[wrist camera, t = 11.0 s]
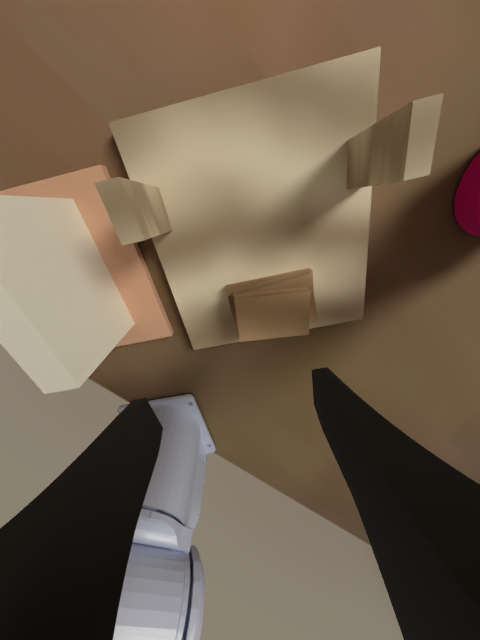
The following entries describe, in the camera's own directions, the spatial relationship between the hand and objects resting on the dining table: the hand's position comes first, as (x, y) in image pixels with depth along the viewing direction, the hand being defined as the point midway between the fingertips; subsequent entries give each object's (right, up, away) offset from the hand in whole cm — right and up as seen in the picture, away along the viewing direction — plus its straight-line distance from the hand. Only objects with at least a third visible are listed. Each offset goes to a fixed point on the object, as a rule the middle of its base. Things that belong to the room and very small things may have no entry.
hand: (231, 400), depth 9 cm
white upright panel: (-10, +7, +6) cm, 14 cm away
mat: (-10, +7, +7) cm, 14 cm away
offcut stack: (+3, +5, +7) cm, 9 cm away
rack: (+2, +9, +6) cm, 11 cm away
